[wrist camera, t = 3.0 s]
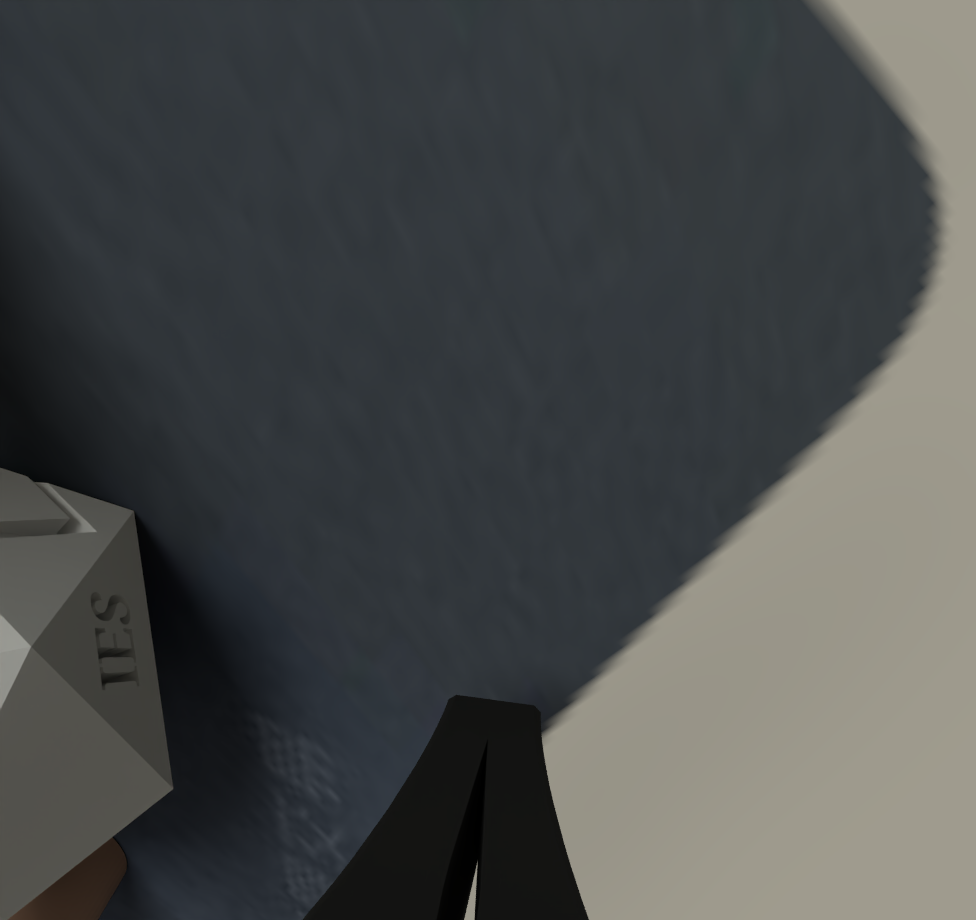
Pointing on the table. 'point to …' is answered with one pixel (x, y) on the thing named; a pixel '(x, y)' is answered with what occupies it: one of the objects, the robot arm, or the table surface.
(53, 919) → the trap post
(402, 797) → the robot arm
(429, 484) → the table surface
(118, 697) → the die
